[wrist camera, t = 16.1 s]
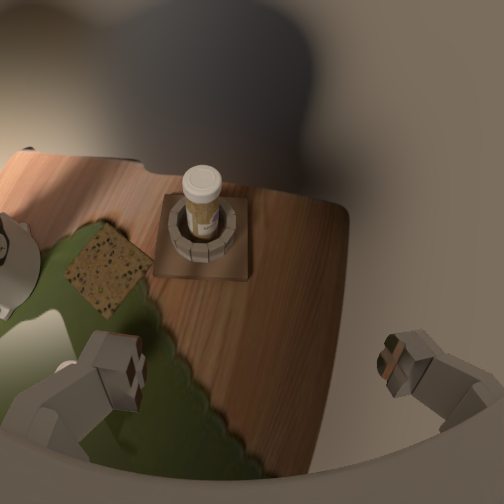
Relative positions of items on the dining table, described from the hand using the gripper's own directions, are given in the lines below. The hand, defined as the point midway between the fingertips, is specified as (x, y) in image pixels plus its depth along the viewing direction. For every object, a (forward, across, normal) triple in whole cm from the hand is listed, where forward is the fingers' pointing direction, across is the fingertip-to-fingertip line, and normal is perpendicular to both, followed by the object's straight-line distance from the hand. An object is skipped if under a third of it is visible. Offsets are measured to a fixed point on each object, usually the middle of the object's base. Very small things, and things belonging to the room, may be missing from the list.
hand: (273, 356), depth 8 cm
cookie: (+32, +20, +13) cm, 40 cm away
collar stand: (+36, +4, +8) cm, 37 cm away
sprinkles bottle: (+35, +4, +8) cm, 36 cm away
